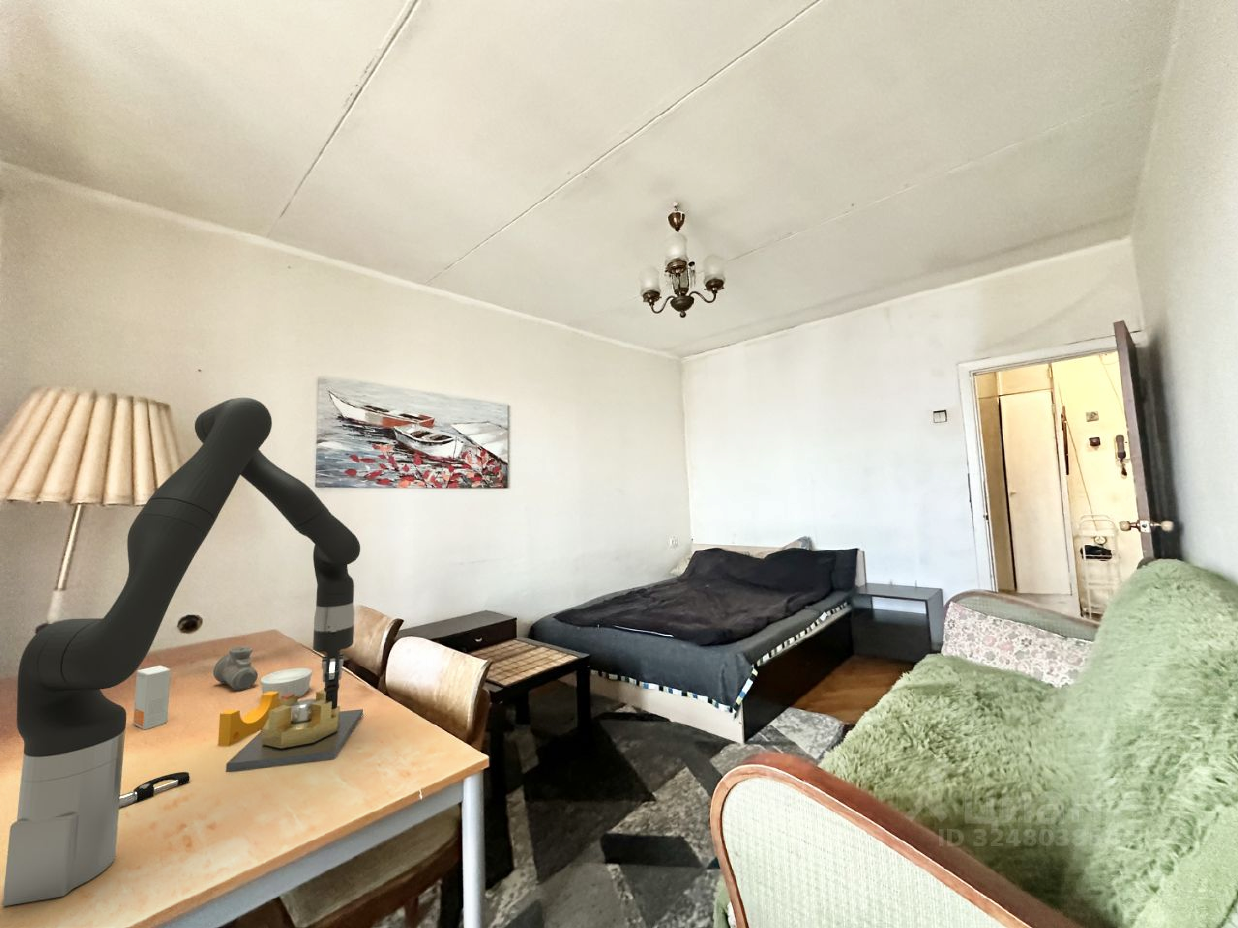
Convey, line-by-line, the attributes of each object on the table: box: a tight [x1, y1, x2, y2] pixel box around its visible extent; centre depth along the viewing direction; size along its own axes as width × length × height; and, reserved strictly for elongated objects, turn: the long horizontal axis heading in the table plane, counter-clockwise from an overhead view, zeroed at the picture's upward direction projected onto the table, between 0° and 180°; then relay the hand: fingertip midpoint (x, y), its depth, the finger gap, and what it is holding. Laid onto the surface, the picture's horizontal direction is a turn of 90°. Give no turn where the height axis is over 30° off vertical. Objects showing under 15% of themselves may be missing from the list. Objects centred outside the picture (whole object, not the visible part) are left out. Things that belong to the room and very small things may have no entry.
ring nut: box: [262, 689, 341, 748], centre depth 101 cm, size 13×13×7 cm
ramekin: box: [260, 667, 313, 698], centre depth 125 cm, size 11×11×5 cm
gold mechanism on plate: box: [225, 698, 364, 773], centre depth 101 cm, size 20×18×8 cm
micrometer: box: [119, 771, 191, 809], centre depth 82 cm, size 15×7×2 cm, turn 144°
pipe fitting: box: [212, 645, 259, 691], centre depth 132 cm, size 12×8×10 cm
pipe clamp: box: [217, 692, 279, 747], centre depth 105 cm, size 12×4×6 cm, turn 173°
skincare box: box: [132, 665, 172, 730], centre depth 110 cm, size 6×4×12 cm
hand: (331, 708), depth 103 cm, fingers closed
